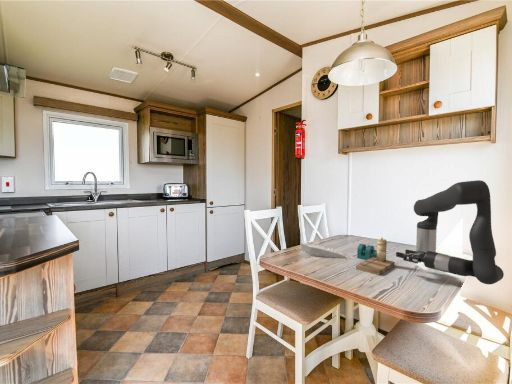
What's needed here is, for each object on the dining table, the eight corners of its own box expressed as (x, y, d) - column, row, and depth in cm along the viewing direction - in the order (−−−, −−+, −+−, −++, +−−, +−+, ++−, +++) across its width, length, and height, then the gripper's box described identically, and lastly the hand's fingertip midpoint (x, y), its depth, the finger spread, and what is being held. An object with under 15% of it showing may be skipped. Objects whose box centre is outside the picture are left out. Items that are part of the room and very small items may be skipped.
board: (372, 260, 139) (373, 256, 139) (394, 265, 131) (394, 261, 131) (356, 269, 125) (356, 264, 125) (379, 275, 117) (379, 270, 117)
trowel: (349, 255, 150) (349, 246, 150) (341, 262, 137) (341, 252, 137) (305, 248, 166) (305, 239, 166) (294, 253, 153) (294, 244, 153)
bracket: (369, 261, 138) (369, 247, 138) (357, 258, 143) (357, 244, 143) (382, 254, 150) (382, 241, 150) (370, 252, 155) (371, 239, 155)
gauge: (378, 258, 136) (379, 236, 135) (387, 260, 132) (388, 237, 132) (374, 260, 133) (375, 237, 132) (384, 262, 129) (384, 239, 129)
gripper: (446, 250, 114) (408, 243, 128) (431, 255, 106) (393, 247, 120) (445, 267, 114) (408, 258, 128) (431, 273, 107) (392, 262, 120)
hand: (401, 252), depth 124 cm, fingers open, 8 cm apart
